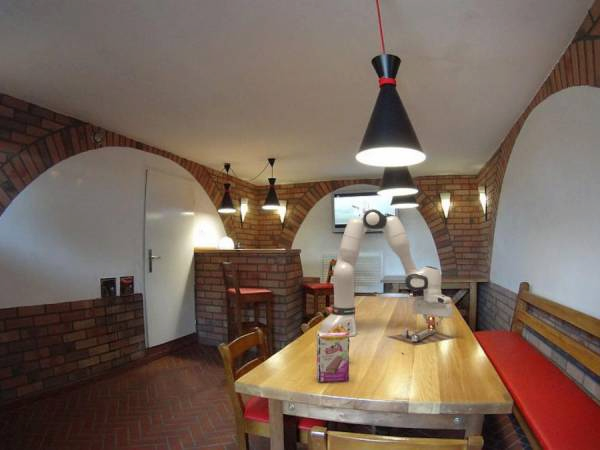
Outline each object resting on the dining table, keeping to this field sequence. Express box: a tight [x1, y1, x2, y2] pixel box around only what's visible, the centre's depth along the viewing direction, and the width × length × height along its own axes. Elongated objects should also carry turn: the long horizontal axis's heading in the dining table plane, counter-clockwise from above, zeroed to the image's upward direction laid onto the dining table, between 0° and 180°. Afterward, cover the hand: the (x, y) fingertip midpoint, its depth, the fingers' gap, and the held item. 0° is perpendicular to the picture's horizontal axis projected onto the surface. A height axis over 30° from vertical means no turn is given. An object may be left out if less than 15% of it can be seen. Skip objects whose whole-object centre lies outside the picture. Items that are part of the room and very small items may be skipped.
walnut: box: [408, 329, 418, 340], centre depth 185 cm, size 4×4×4 cm
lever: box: [412, 315, 436, 342], centre depth 186 cm, size 24×4×8 cm, turn 140°
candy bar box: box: [316, 332, 350, 384], centre depth 134 cm, size 11×5×16 cm, turn 98°
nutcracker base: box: [387, 328, 457, 347], centre depth 188 cm, size 29×19×6 cm, turn 119°
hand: (432, 324), depth 194 cm, fingers open, 5 cm apart
